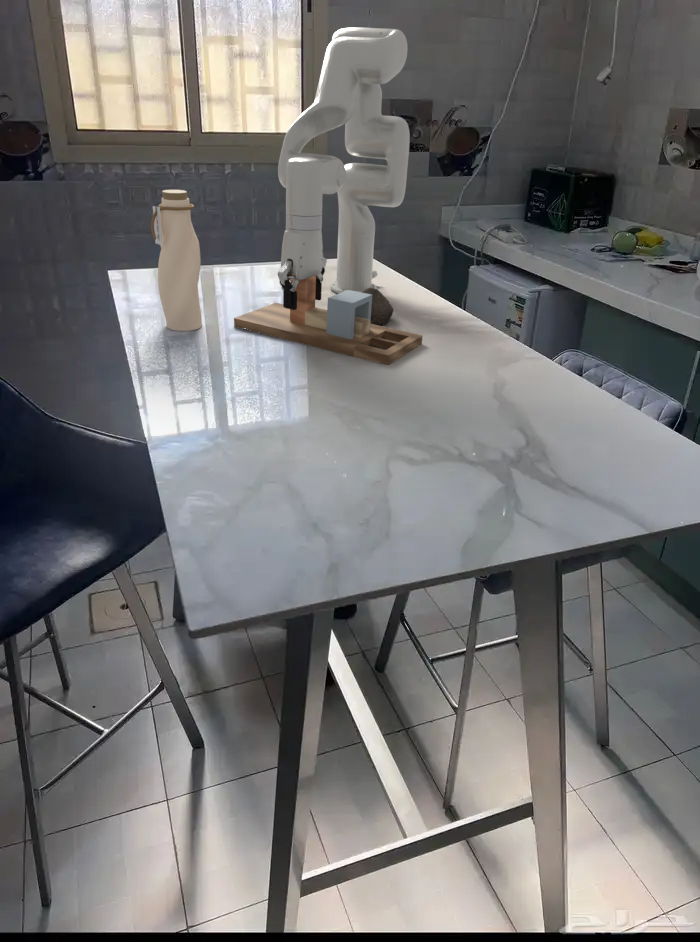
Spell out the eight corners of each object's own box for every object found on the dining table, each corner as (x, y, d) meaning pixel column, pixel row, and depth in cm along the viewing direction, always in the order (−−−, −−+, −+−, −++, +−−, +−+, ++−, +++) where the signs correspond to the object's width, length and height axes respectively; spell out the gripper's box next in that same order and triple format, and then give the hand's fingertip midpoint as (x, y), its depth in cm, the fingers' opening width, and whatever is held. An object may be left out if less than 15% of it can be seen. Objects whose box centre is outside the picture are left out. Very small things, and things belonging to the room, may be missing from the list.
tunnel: (346, 324, 153) (348, 289, 149) (369, 329, 150) (372, 294, 146) (326, 333, 146) (327, 297, 143) (350, 339, 144) (352, 303, 140)
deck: (275, 310, 166) (275, 302, 165) (421, 344, 150) (422, 335, 149) (234, 326, 154) (233, 318, 153) (388, 365, 137) (388, 355, 136)
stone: (395, 336, 165) (389, 299, 168) (396, 319, 157) (390, 281, 160) (354, 341, 165) (349, 304, 168) (353, 324, 157) (348, 286, 160)
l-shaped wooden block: (300, 317, 156) (300, 272, 151) (369, 332, 148) (372, 286, 143) (289, 321, 153) (290, 276, 148) (360, 337, 145) (362, 290, 140)
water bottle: (177, 336, 146) (166, 196, 132) (150, 326, 151) (137, 190, 137) (213, 326, 153) (206, 192, 140) (186, 317, 158) (177, 187, 144)
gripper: (311, 215, 151) (309, 292, 160) (264, 225, 138) (265, 309, 146) (340, 220, 148) (337, 298, 156) (295, 230, 135) (294, 316, 143)
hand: (302, 303), depth 151 cm, fingers open, 9 cm apart
